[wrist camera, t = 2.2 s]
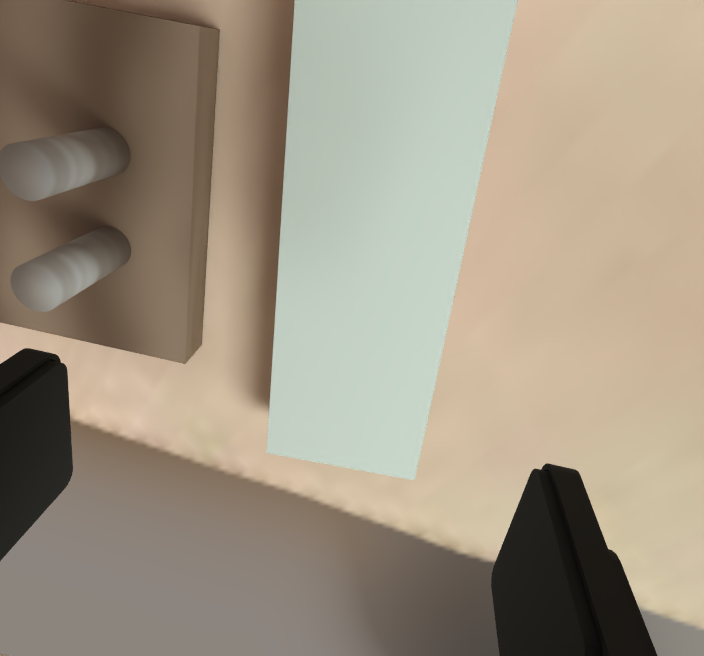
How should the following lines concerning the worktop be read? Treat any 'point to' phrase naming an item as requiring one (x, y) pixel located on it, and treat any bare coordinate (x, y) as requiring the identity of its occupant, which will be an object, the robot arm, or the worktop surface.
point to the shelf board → (376, 218)
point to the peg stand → (105, 174)
